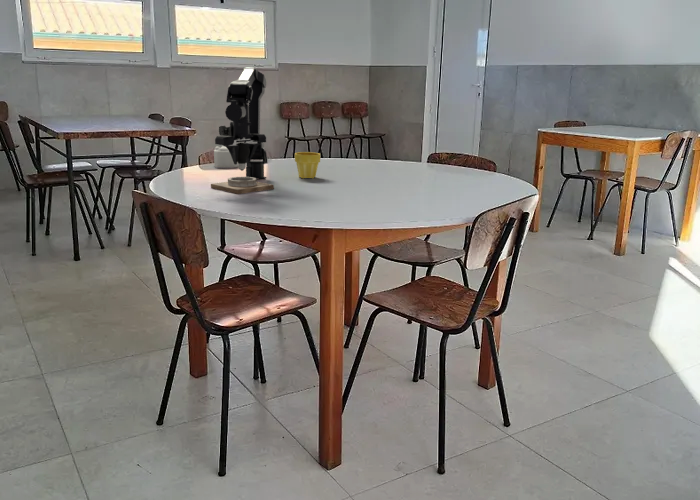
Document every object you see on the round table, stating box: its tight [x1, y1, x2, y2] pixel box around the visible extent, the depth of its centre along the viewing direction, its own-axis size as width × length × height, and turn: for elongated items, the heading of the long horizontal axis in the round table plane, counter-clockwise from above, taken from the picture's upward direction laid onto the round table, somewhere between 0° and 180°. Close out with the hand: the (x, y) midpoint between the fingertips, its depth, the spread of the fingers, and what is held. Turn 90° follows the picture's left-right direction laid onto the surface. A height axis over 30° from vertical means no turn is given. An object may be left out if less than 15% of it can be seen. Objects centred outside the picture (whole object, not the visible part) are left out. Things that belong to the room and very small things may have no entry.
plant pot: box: [294, 151, 321, 179], centre depth 254 cm, size 10×10×10 cm
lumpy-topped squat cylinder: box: [213, 145, 239, 169], centre depth 282 cm, size 10×13×9 cm
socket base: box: [210, 176, 275, 195], centre depth 226 cm, size 16×16×4 cm
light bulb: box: [236, 142, 250, 172], centre depth 224 cm, size 6×6×10 cm
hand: (241, 163), depth 225 cm, fingers closed on light bulb, 5 cm apart
